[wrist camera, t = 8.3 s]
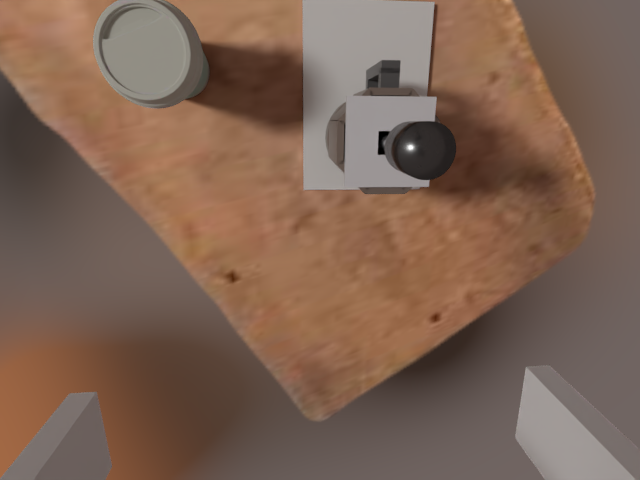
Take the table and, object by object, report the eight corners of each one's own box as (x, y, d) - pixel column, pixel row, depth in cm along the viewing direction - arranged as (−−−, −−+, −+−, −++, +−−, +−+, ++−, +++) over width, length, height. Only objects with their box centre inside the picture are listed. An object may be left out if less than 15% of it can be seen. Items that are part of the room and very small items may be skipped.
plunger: (356, 121, 40) (401, 120, 24) (391, 121, 40) (458, 121, 24) (355, 157, 41) (397, 180, 25) (389, 157, 41) (452, 180, 25)
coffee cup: (227, 36, 42) (204, 4, 30) (216, 118, 44) (191, 117, 33) (144, 16, 41) (88, -25, 29) (137, 101, 43) (82, 94, 32)
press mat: (302, -1, 41) (302, -2, 41) (432, 3, 42) (434, 2, 42) (303, 189, 47) (303, 189, 47) (418, 188, 48) (419, 189, 48)
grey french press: (326, 74, 43) (339, 57, 32) (406, 75, 44) (448, 59, 32) (324, 177, 46) (336, 195, 35) (400, 176, 47) (435, 194, 36)
